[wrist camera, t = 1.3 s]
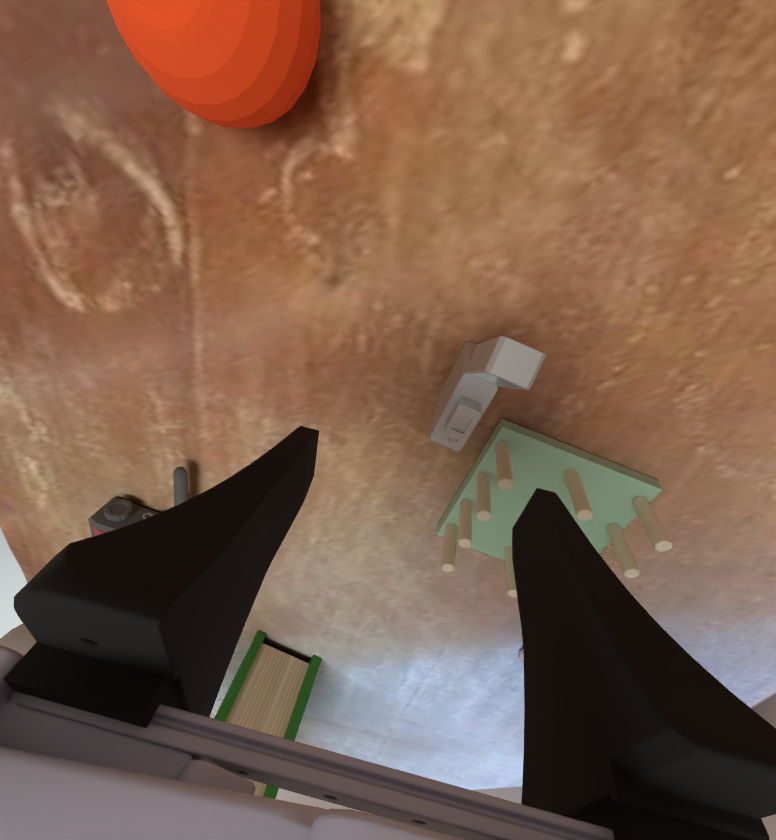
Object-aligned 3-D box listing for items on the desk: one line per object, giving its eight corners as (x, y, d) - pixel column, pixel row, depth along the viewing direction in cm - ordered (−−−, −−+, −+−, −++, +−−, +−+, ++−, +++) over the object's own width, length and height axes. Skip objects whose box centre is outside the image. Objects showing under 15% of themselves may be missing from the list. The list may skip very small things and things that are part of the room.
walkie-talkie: (203, 603, 41) (205, 462, 30) (175, 645, 37) (166, 501, 26) (125, 575, 41) (99, 425, 30) (89, 614, 37) (45, 458, 26)
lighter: (462, 411, 23) (456, 502, 17) (435, 400, 23) (419, 486, 17) (524, 301, 20) (550, 361, 13) (493, 288, 19) (502, 340, 13)
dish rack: (656, 479, 23) (692, 536, 19) (563, 573, 29) (577, 633, 25) (501, 417, 23) (506, 462, 19) (437, 524, 28) (431, 576, 25)
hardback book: (258, 630, 41) (49, 1055, 21) (321, 658, 42) (175, 1100, 21) (227, 690, 51) (63, 1023, 30) (279, 713, 51) (151, 1056, 31)
